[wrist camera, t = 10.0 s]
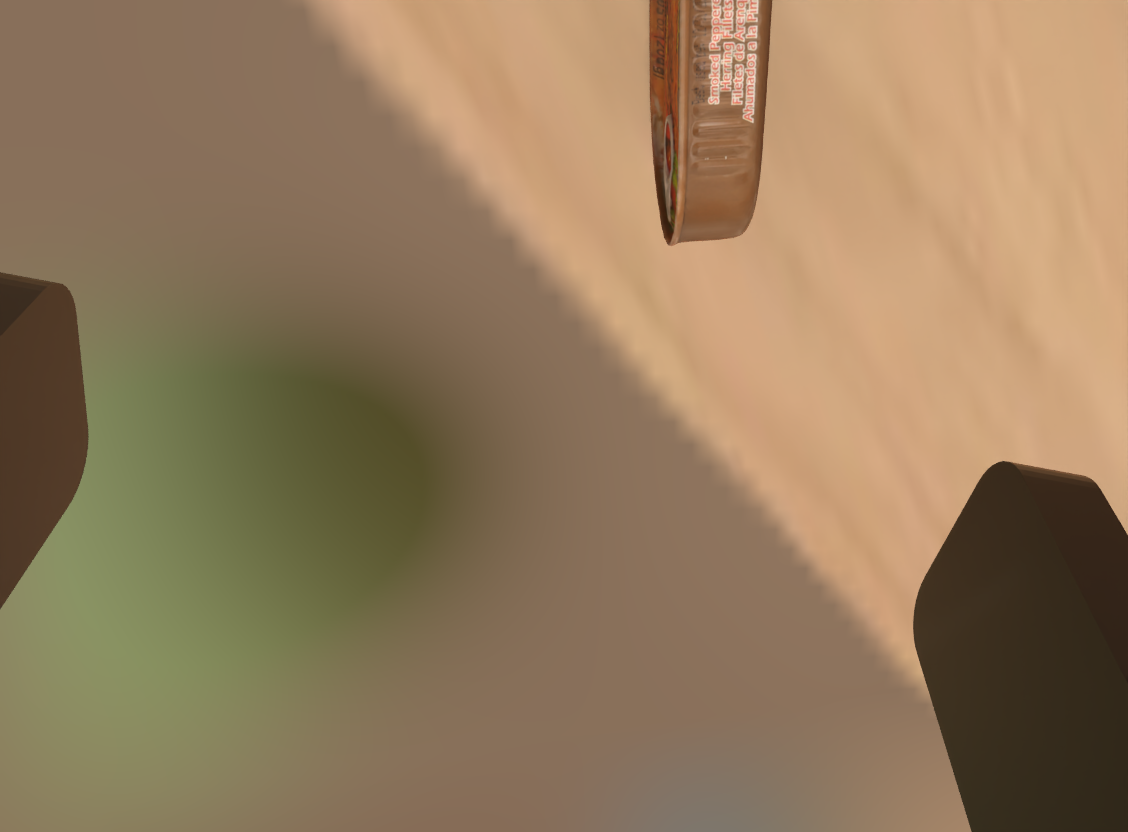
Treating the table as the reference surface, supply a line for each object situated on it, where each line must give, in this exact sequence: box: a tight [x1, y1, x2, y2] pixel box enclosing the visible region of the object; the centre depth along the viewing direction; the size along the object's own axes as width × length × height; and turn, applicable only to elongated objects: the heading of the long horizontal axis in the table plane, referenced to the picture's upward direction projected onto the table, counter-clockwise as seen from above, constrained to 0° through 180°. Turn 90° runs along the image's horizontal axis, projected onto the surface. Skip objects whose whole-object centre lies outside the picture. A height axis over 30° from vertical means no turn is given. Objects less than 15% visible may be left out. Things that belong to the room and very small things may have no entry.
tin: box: [650, 0, 772, 246], centre depth 32 cm, size 15×3×8 cm, turn 3°
